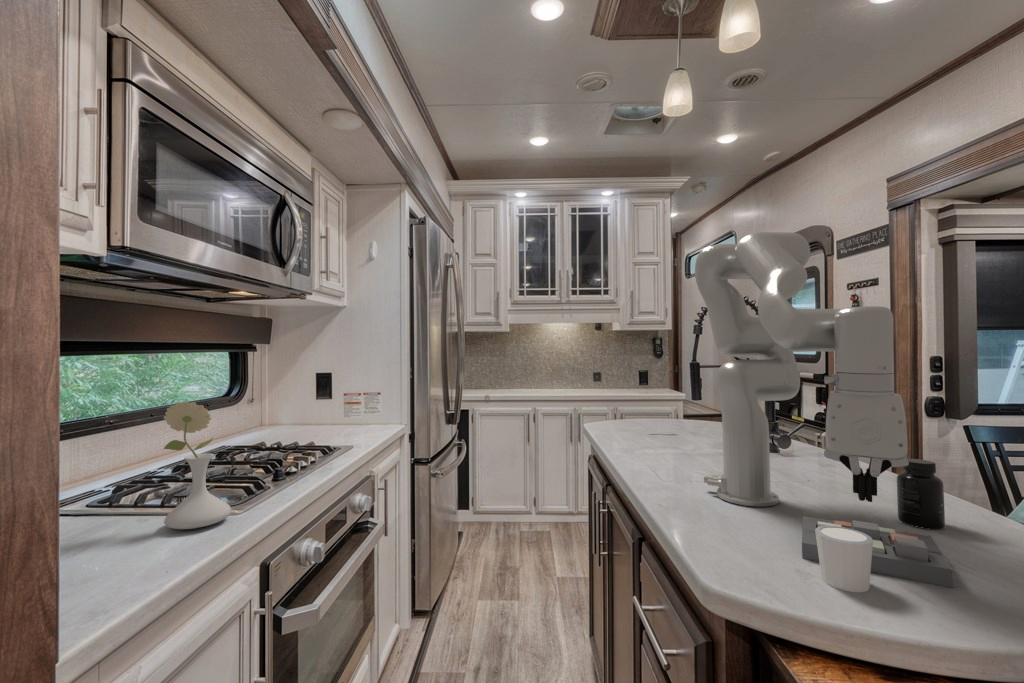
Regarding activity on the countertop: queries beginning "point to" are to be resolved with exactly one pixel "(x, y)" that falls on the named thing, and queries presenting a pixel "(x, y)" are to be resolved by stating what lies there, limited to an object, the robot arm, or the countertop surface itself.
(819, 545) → the white oval cup
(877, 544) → the key sage
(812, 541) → the keypad
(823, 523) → the key cream
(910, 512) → the supplement bottle
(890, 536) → the key terracotta
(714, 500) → the countertop surface
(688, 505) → the countertop surface
